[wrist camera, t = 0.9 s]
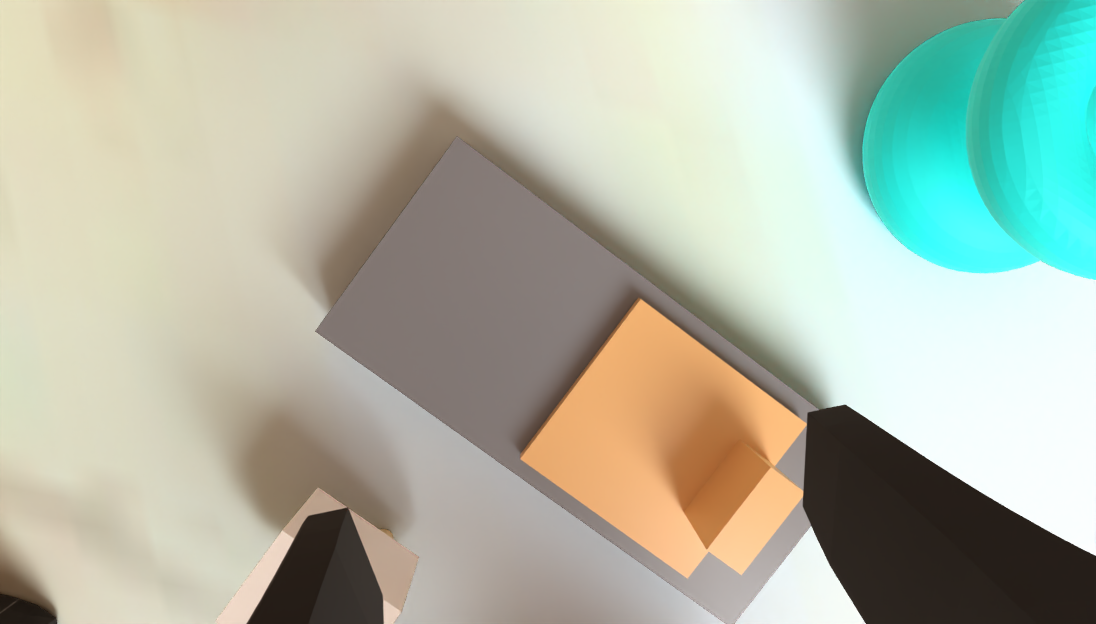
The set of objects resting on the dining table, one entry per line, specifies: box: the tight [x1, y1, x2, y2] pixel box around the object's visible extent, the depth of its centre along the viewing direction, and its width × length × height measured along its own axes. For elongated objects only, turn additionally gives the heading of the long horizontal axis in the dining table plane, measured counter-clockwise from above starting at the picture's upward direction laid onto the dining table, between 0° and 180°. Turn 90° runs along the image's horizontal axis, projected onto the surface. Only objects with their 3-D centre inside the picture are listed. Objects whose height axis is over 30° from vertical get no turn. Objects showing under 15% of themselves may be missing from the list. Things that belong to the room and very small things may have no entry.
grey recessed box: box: [315, 136, 819, 624], centre depth 30 cm, size 20×9×3 cm, turn 53°
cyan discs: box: [862, 0, 1096, 280], centre depth 26 cm, size 10×10×10 cm
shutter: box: [520, 298, 807, 579], centre depth 26 cm, size 8×8×4 cm
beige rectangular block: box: [215, 487, 419, 624], centre depth 28 cm, size 5×4×6 cm
